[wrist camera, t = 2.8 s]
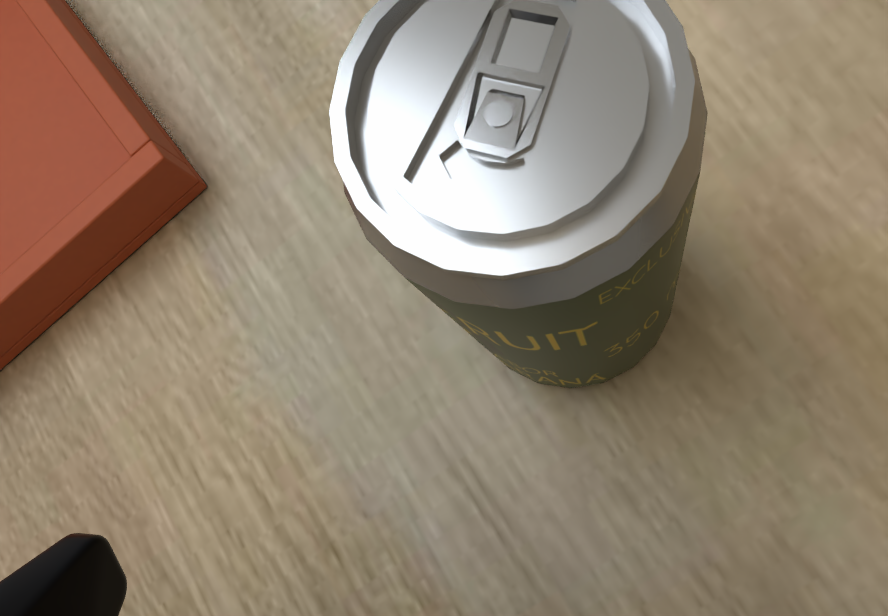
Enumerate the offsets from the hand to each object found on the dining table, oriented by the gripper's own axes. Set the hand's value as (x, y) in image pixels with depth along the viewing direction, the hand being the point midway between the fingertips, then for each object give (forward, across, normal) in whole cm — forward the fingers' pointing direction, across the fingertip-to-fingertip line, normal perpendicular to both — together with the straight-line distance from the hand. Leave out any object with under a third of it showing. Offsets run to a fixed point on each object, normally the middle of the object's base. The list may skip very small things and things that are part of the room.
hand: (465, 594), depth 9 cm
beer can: (+14, 0, +5) cm, 14 cm away
